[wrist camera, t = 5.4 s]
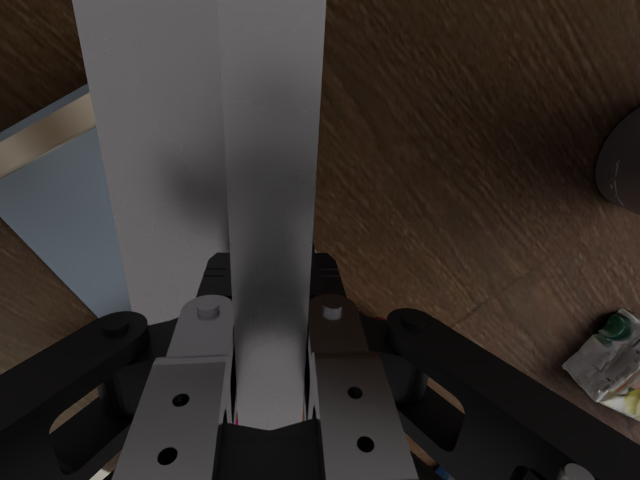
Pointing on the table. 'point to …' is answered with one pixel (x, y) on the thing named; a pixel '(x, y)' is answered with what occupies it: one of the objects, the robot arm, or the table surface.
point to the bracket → (215, 167)
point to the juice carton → (611, 364)
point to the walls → (46, 135)
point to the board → (69, 215)
